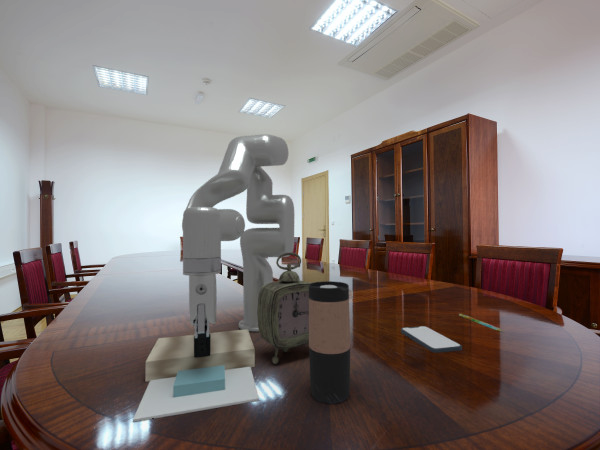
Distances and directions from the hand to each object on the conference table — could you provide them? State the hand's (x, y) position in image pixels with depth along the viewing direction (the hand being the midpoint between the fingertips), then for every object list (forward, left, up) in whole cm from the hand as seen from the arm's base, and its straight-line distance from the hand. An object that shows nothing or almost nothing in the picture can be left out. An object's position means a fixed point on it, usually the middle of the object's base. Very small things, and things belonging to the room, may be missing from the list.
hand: (202, 355), depth 60 cm
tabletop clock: (-20, -6, -5) cm, 21 cm away
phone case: (-59, -4, -5) cm, 59 cm away
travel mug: (-23, +13, -5) cm, 27 cm away
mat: (0, +5, -5) cm, 7 cm away
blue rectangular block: (0, +4, -2) cm, 4 cm away
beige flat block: (0, -9, -5) cm, 10 cm away
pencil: (-85, -11, -5) cm, 86 cm away
